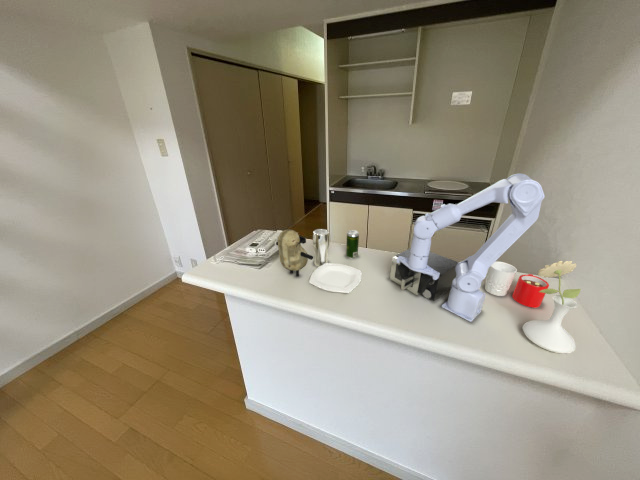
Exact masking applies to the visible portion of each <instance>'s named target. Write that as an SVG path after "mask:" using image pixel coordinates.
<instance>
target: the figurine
mask: <svg viewBox="0 0 640 480" xmlns="http://www.w3.org/2000/svg"><path fill="white" fill-rule="evenodd" d="M306 243H307V239H306V237H305V236H302V235H299V233H298V232H297V231H295V230H293V229H284V230H282V231H281V232H280V233H279V235H278V237H277V241H276V243H275V245H276V246H277V247H278V255H279V256H278V257H279V262H280V264H281V265H282V267H283V268H285V269H286V270H288V271H289V273H290V274H291V275H292V274H294V271H295V277H296V278H297V277H298V278H299V277H300V271H301V269H303V268H305V266H306V265H307V263H308V261H309V260H311V261H313V259H314V256H313V255H311V254H310V253H309V254H308V253H307V251H306V250H305V248H304V247H303V246H302V245H304V244H306Z"/></svg>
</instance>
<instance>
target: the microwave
mask: <svg viewBox="0 0 640 480" xmlns="http://www.w3.org/2000/svg"><path fill="white" fill-rule="evenodd" d="M410 250H411V247H410V248H408V249H406V250H404V251H402V252H400V253H398V254H395V256H396V257H399V256H402V257H405V258H409V256H410ZM459 262H460V261H459ZM459 262H458V261H456V260H454V259H451V258H448V257H446V256H443V255H440V254H438V253H435V252H432V251H430V252H429V257H428V262H427V265H428V266H429V267H431V268H432V269H434V270H435V271H437V272H439V273H440V275H439V278H438V279H437V280H434V279H432V281H431V282H430V283H429V284H428V286H427V287H426V289H425V292H424V293H422V294H420V295H421V296H423V297H424V298H426V299H428V300H430V301H432V302H435V301H436V300H438V299H439V298H440V297H441V296H443V295H444V294H446V293H447V292H448V291H450V289H451V285H452V281H453V280H454V279H455V278H456V271H455V267H456V265H457V264H458V263H459ZM423 275H425V274H423Z"/></svg>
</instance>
